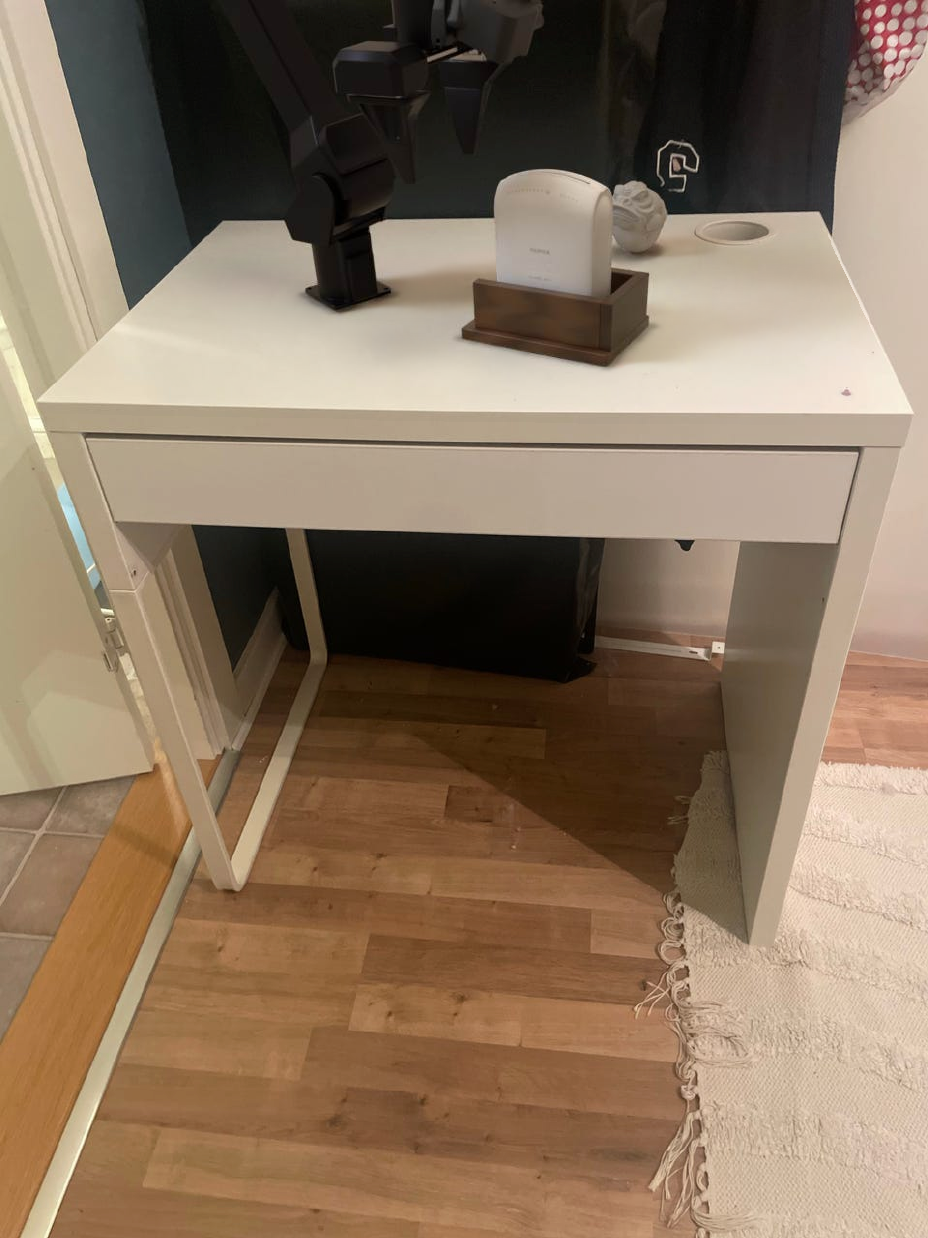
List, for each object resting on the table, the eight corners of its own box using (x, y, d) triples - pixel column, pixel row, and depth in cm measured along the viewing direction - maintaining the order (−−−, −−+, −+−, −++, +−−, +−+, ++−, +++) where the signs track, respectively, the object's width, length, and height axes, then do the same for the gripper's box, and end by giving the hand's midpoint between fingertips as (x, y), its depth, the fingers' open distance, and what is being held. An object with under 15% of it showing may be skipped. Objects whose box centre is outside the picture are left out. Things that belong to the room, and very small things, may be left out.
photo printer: (490, 320, 85) (484, 172, 77) (515, 303, 87) (512, 158, 79) (594, 341, 80) (598, 185, 72) (617, 322, 83) (624, 170, 75)
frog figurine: (590, 256, 98) (591, 184, 94) (629, 236, 102) (632, 167, 98) (639, 267, 95) (643, 194, 91) (677, 247, 99) (683, 175, 94)
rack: (461, 338, 84) (458, 282, 81) (510, 302, 90) (509, 248, 87) (606, 366, 78) (608, 307, 75) (648, 326, 84) (652, 269, 81)
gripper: (451, -44, 60) (465, 212, 70) (580, -75, 72) (576, 147, 82) (313, -43, 65) (345, 197, 75) (455, -73, 77) (466, 138, 87)
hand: (440, 168), depth 80 cm, fingers open, 9 cm apart
